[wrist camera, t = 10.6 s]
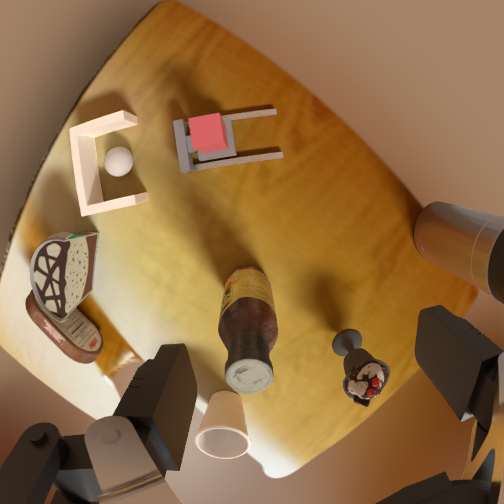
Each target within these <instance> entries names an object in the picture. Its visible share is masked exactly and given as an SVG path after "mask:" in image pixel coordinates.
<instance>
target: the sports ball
mask: <svg viewBox="0 0 504 504" xmlns="http://www.w3.org/2000/svg"><path fill="white" fill-rule="evenodd" d="M104 165H105V168H106V170H107V172H108V173H109V174H111V175H113V176H123V175H125V174H127V173H128V172H129V171H130V170H131V168H132V165H133V156H132V153H131V152H130V151H129V150H128V149H127V148H124V147H115V148H113V149H111V150H110V151H109V152H108V153H107V154H106V157H105V160H104Z"/></svg>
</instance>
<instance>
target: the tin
mask: <svg viewBox="0 0 504 504" xmlns="http://www.w3.org/2000/svg"><path fill="white" fill-rule="evenodd" d="M25 304H26V310H27V313H28V315H29V316H30V318H31V319H32V321H33V322H34V323H35V324H36V325H37V326H38V327H39V328H40V329H41V330H42V331H43V332H44V333H45V335H46V336H47V337H48V338H49V339H50V340H51V341H52V342H53V343H54V344H55V345H56V346H57V347H58V348H59V349H60V350H61V351H62V352H63V353H64V354H65V355H66V356H68V357H69V358H71V359H72V360H74V361H76V362H79V363H83V364H88V363H92V362H93V361H95V360H96V358H97V356H98V355H99V354H100V353H101V351H102V349H103V338H102V335H101V333H100V331H99V330H98V328H97V327H96V326H95V325H94V324H93V323H92V322H91V321H90V320H89V319H88V318H87V317H86V316H85V315H84V314H83V313H82V312H81V311H80V310H79V309H78V308H77V307H76V308H75V309H74V310H73V311H72V312H71V313H70V314H69V315H68V316H67V317H66V318H68V320H67V321H65V322H61V323H60V322H58V321H57V320H55V319H54V318H52V317H51V316H50V315H49V314H48V313H46V311H45V310H44V309H43V308H42V307H41V305H40V304H39V302H38V300H37V299H36V297H35V294H34V292H33V289H32V290H31V292H30V294H29V295H28V297H27V299H26V303H25Z"/></svg>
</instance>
